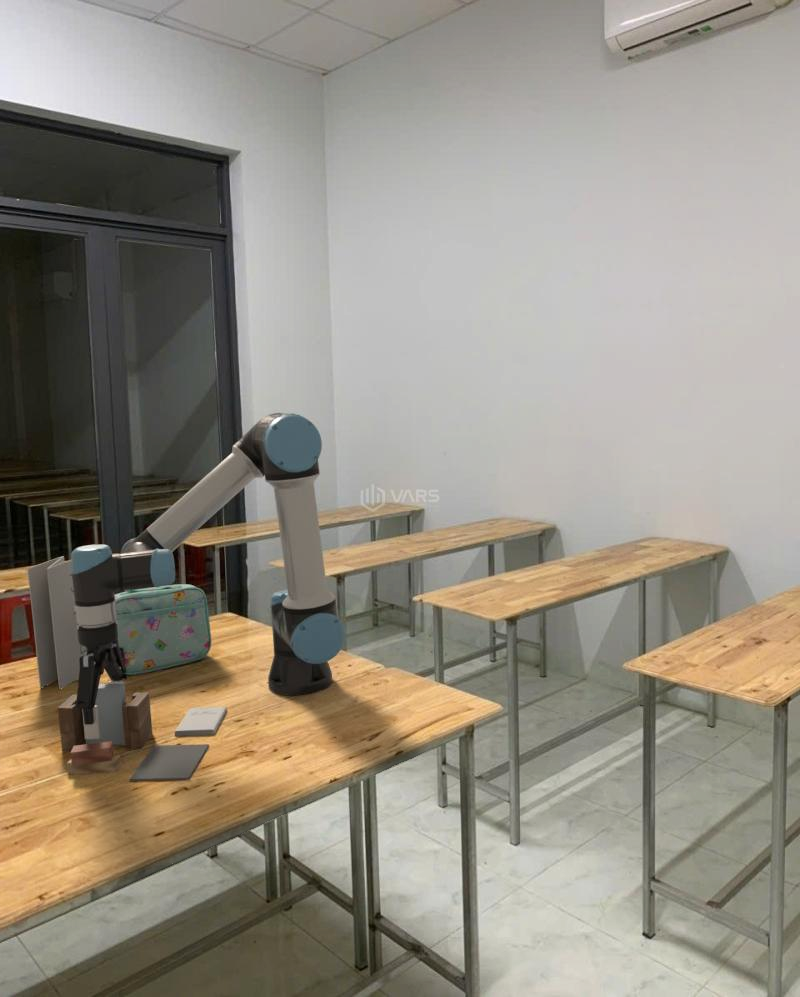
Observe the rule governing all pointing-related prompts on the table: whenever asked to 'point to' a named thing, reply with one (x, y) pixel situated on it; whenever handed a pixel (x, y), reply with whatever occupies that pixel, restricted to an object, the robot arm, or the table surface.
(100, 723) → the grey upright panel
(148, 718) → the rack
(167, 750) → the mat
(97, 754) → the mahogany offcut
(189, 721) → the external hard drive
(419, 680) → the table surface
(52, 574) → the brochure
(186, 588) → the lunch box
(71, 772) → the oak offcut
